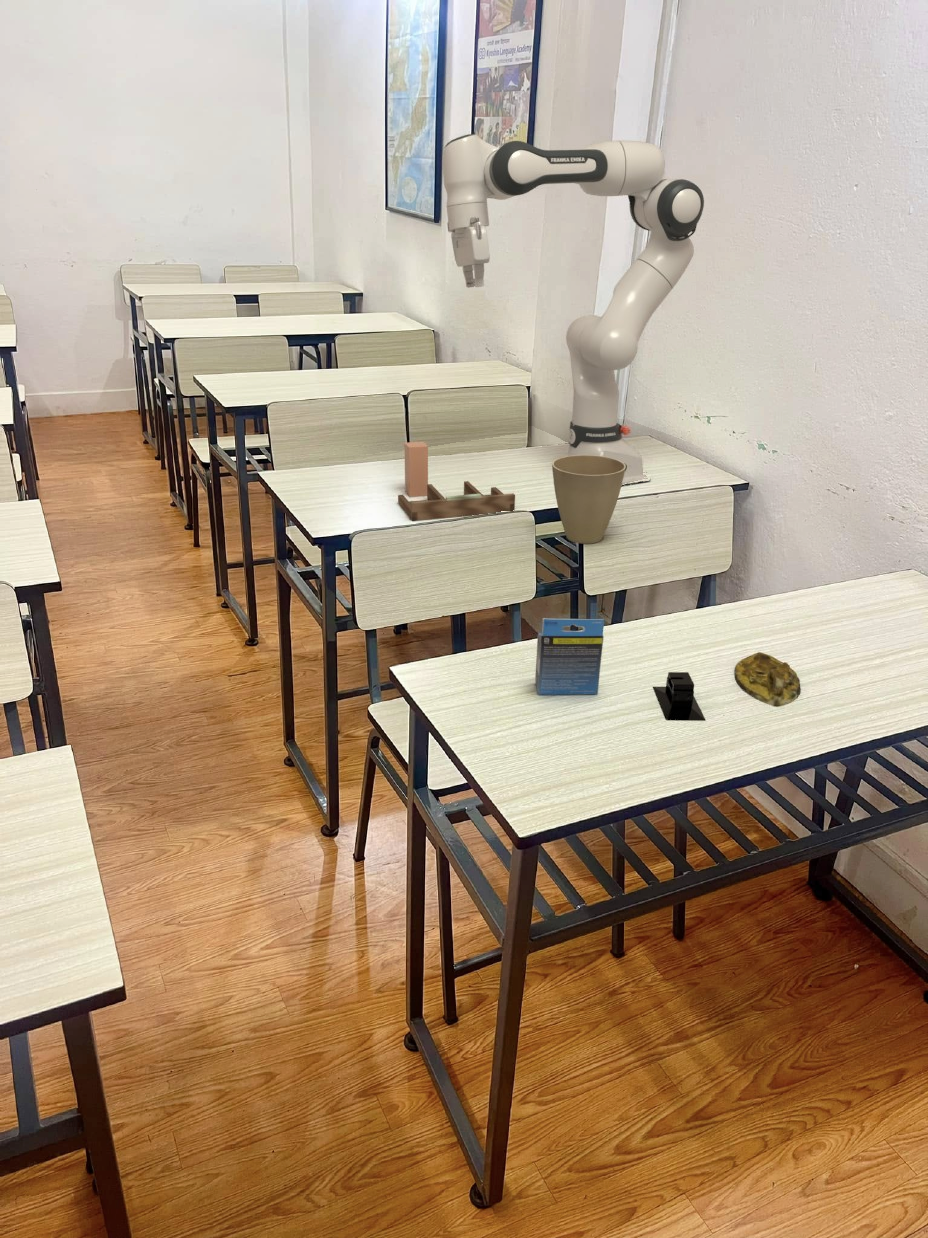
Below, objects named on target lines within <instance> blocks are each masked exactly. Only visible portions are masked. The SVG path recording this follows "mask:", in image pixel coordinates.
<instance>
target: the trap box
mask: <svg viewBox="0 0 928 1238" xmlns="http://www.w3.org/2000/svg"><path fill="white" fill-rule="evenodd" d="M397 504H398V505H399V506H400V508H401V509H402V510H403V512H404V513H405V514H406V516H407V517H408V518H409V519H410V520H411V522H417V521H429V520H439V519H451V518H460V517H461V518H462V516H463V517H473V516H472V515H474V516H480V515H479V514H485V515H489V514H488V513H496V512H501V511H513V510H515V509H516V508H515V507H516V506H515V505H516V494H515V493H514V492H513V493H503V492H502V491H501V490H500V489H499V488H498V487H496V486H492V487H490V494H482V492H481V491H480V490H478V489H477V488H476V487H475V485H473V484H472V483H470V482H469V480H467V481H463V494H461V495H460V494H459V495H449V496H448V495H446V496H445V497H444V496H443V494H441V493H440V492H439V490H437V488H436V487H435V486H434V485H433V484H432V483H428V484H427V496H426V499H422V500H421V499H419V500H412V501H411V500H410V501H409V500H408V499H407V497H405V495H404V494H397Z"/></svg>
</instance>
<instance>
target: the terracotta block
mask: <svg viewBox="0 0 928 1238" xmlns="http://www.w3.org/2000/svg"><path fill="white" fill-rule="evenodd" d="M403 445H404V487H405V488H404V492H405V494H406V495H407V496H408V497H409V498H418V497H427V484H429V446H428V445H427V444H426V443H425V442H424V441H413V442H412V441H411V442H404V444H403Z"/></svg>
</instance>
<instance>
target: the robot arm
mask: <svg viewBox="0 0 928 1238" xmlns="http://www.w3.org/2000/svg"><path fill="white" fill-rule="evenodd" d="M665 165H666V164H665V156H664V152H663V151H662V149H661V148H660V147H659V146H657V145H656V144H654V143H649V142H646V141H645V142H644V141H638V140H609V141H608V140H607V141H601V142H596V143H593V144H589V145H586V146H585V147H583V148H580V149H556V150H555V149H549V150H547V149H541V148H538V147H536V146H534V145H532V144H530V143H527V142H526V141H522V140H513V141H512V140H511V141H508V142H506V143H504V144H503V145H501V147H498V146H496V145H493V144H491V143H489V142H487V141H485V140H484V139H482V138H480V137H479V136H478V135H477V134H475V133H469V134H464V135H461V136H458V137H456V138H454V139H452V140H449V142H447V143H446V145H445V146H444V147H443V151H442V176H443V178H442V179H443V185H444V188H445V192H446V213H447V214H446V215H447V231H448V233H450V234H451V235H450V236H451V237H450V239H451V245H452V250H453V256H454V261H455V263H456V267H458V268H460V267H462V272H463V273H462V274H463V277H464V280H465V287H466V288H474V287H475V288H482V287H484V286H485V283H484V282H485V280H484V278H485V277H484V276H485V264H488V263H490V259H491V258H490V256H491V255H490V247H489V246H490V245H489V237H488V232H487V231H488V230H487V229H486V227H489V226H490V219H489V208H488V199H494V200H498V201H499V200H500V201H502V200H508V199H511V198H513V197H516V196H521V195H522V196H523V195H524V194H527V193H529V192H531V191H532V190H534V189H536V188H537V187H539V186H543V185H557V184H576V185H578V186H579V187H580V189H581V190H582V191H583V192H584V193H585V194H586V195H590V196H597V197H619V196H621V197H623V196H627V198H628V201H629V212H630V213H629V214H630V216H631V219H632V221H633V222H634V223H635V224H636V226H638V227H639V228H641V229H643V230H645V231H649V232H650V236H649V238H648V242H647V244H646V245H645V247H644V249H643V251H641V253H640V254H639V255H638V256H637V257H636V258H635V260H634V261H633V262H632V264H631V265H630V266H629V268H628V269H627V270H626V272H624V274H623V275H622V276H621V278H620V279H619V280H618V281H617V283H616V284H615V285H614V288H613V292H612V293H613V294H612V297H611V300H610V301H609V303H608V306H607V308H606V310H605V312H604V313H603V314H602V315H601V316H600V315H595V314H590V315H584V316H580V317H577V318H576V319H575V320H573V321H572V322H571V324H569V327H568V328H567V330H566V334H565V339H566V340H565V341H566V342H565V343H566V345H567V348H568V351H569V355H570V356H569V357H570V358H569V359H570V366H571V367H570V368H571V374H572V383H573V386H572V387H573V398H572V399H573V401H572V413H571V414H572V415H571V416H572V417H571V421H570V423H569V432H568V444H569V447H568V453H567V456H572V455H597V456H605V457H610V458H614V459H617V460H619V461H621V462H623V463H624V464H625V465H626V468H625V473H624V477H623V481H622V485H623V484H625V483H630V482H634V481H638V480H642V479H648V478H644V477H647V476H646V475H643V473H645V472H643V470H644V467H643V458H642V456H641V454H640V452H639V451H638V450H637V449H635V448H634V447H633V446H632V445H631V444H630V443H629V442H628V441H626V440H625V439H624V438H623V435H624V436H628V435H629V434H630V433H631V428H630V427H629V426H626V425H621V424H620V423H618V411H619V399H620V391H619V390H620V389H619V387H618V384H617V380H616V376H615V371H620V370H623V369H625V368H627V367H629V366H630V364H632V363H633V361H634V360H635V358H636V356H637V353H638V348H639V347H638V345H639V340H640V338H641V336H642V334H643V332H644V330H645V328H646V326H647V323H648V322H649V320H650V319H651V318H652V316H653V315H654V313H655V312H656V311H657V309H658V308H659V306H661V304H662V303H663V302H664V300H665V298H667V296H669V294H670V293H671V292H672V290H673V289H674V288H675V286H676V285H677V283H679V280H680V279H681V278H682V276H683V275H684V274H685V271H687V268H688V267H689V264H690V263H691V261H692V259H693V257H694V253H695V249H694V243H693V241H692V240H691V239H690V237H692V236H693V235H694V233H696V229H697V225H698V224H699V222H700V220H701V217H702V215H703V211H704V207H705V197H704V195H703V192H702V190H701V188H699V187H700V186H698V185H697V184H695V183H693V182H692V181H690V180H687V179H684V178H682V179H681V178H680V179H678V178H668V176H667V175H666V173H665V167H666V166H665ZM622 434H623V435H622Z"/></svg>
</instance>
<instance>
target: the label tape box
mask: <svg viewBox="0 0 928 1238" xmlns="http://www.w3.org/2000/svg"><path fill="white" fill-rule="evenodd" d="M572 625H573V626H575V627H577V628H582V630H563V628H565V627H566V628H567V627H568V628H570V627H571V626H572ZM604 625H605V619H604V618H598V619H597V618H595V619H593V618H590V619H589V618H587V619H586V618H585V619H583V618H544V617H543V618H542V629H541V632H542V633H538V634H537V638H536V639H537V642H536V643H537V644H536V662H535V676H534V677H535V680H534V681H535V682H534V683H535V687H536V691H537V695H539V696H556V695H557V696H558V695H559V696H560V695H562V696H564V695H598V694H599V683H600V676H601V675H600V673H601V665H602V657H603V656H602V654H603V645H604V628H605V627H604Z"/></svg>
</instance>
